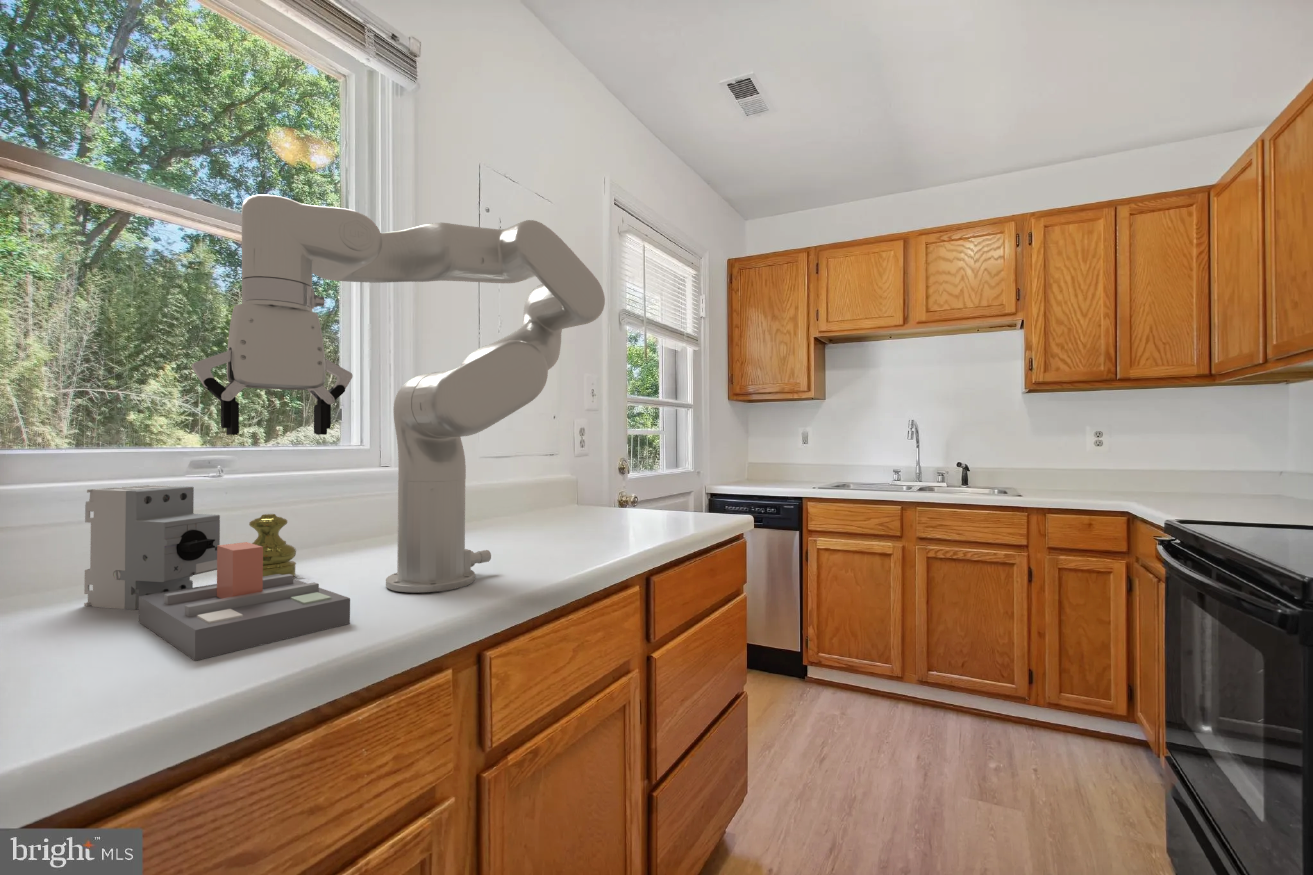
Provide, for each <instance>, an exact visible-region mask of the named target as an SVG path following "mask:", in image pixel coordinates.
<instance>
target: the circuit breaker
mask: <svg viewBox="0 0 1313 875" xmlns="http://www.w3.org/2000/svg"><path fill="white" fill-rule="evenodd" d="M194 490H195V489H194V486H184V485H183V486H181V485H155V484H153V485H149V484H146V485H132V486H131V485H130V486H121V487H106V488H105V487H103V488H92V489H90V488H89V489H86V493H88V494H89V500H88V501H85V505H84V506H85V507H84V508H85V511H84V514H85V516H84V518H85V519H84V522H85V523H90V550H89V551H90V554H89V555H90V557H89V558H90V559H89V560H90V561H89V562H90V565H89V566H90V568H88V569H85V570H84V584H83V585H84V588H83V590H84V595H87V602H84V605H83V606H84V607H89V606H92V608H102V609H103V608H104V609H105V608H106V609H117V610H131V611H136V610H139V596H144V595H150V594H156V593H163V592H169V591H175V590H181V589H188V588H194V587H193V586H194V585H193V583H194V582H193V580H192V579H191V577H193V576H196V575H200V574H206V573H210V572H212V571H213V572H214V571H217V545H221V541H220V539H221V532H220V531H221V519H220V518H221V515H220V514H213V513H211V514H209V513H194V500H195V499H194V498H195V497H194V496H195V495H194V493H195V492H194ZM91 512H93V517H91ZM90 585H91V586H92V590H91V589H90Z"/></svg>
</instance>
